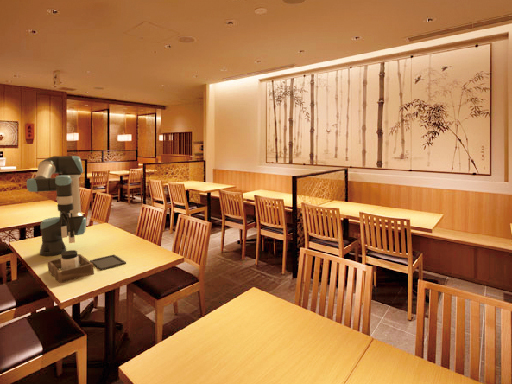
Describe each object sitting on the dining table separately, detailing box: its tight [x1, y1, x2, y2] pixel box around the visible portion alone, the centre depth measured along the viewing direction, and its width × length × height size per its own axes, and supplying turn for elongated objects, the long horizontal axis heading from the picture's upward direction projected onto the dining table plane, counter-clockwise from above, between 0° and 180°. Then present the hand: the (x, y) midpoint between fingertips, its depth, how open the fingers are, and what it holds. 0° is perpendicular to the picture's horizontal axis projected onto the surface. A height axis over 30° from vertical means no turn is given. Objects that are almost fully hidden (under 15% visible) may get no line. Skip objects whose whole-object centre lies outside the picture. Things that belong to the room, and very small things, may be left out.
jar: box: [60, 249, 80, 271], centre depth 187 cm, size 9×8×12 cm
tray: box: [89, 254, 127, 271], centre depth 203 cm, size 18×15×1 cm
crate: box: [47, 253, 95, 284], centre depth 188 cm, size 22×17×6 cm
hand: (68, 240), depth 185 cm, fingers open, 13 cm apart
